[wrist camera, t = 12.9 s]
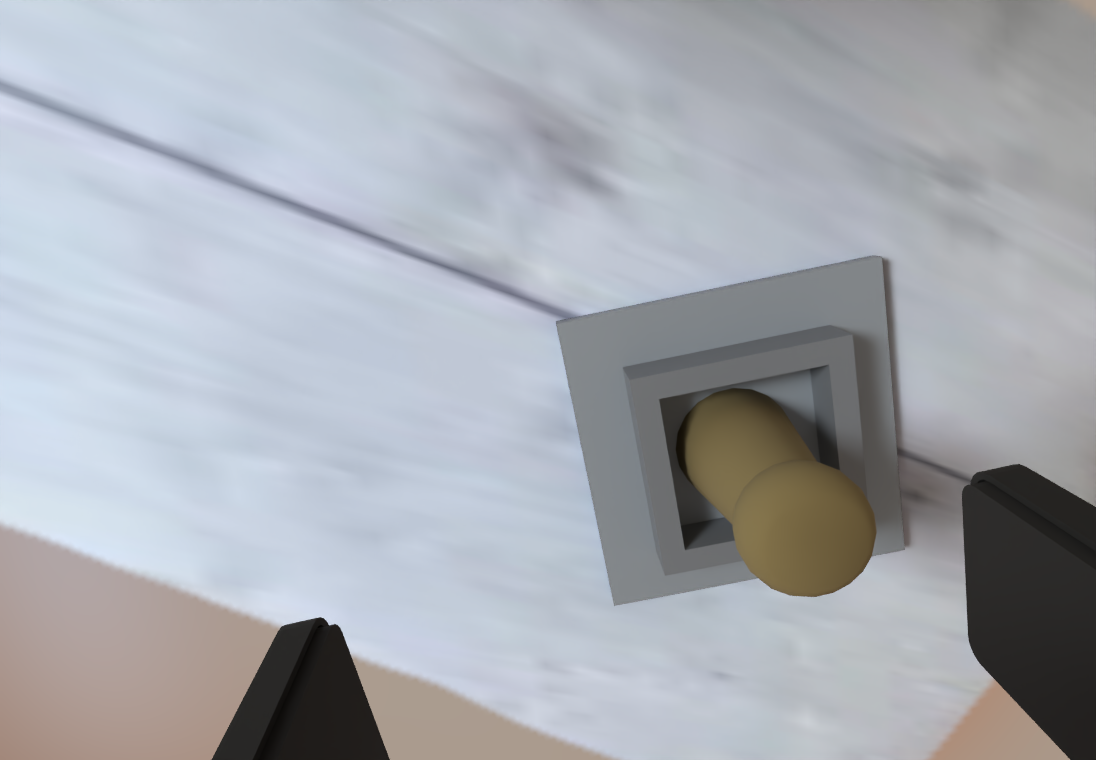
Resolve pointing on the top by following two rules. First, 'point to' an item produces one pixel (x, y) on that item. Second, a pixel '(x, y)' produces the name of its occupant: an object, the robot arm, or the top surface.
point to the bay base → (715, 365)
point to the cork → (776, 494)
